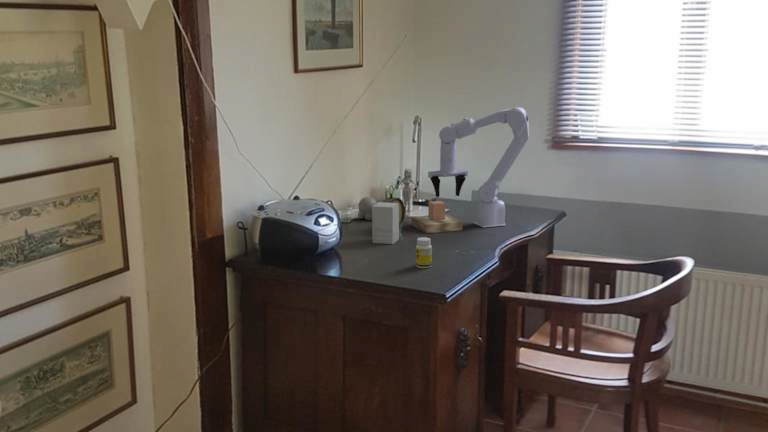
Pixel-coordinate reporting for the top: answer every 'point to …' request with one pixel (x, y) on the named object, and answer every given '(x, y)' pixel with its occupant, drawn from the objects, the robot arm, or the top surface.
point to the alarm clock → (401, 206)
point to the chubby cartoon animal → (366, 208)
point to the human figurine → (407, 189)
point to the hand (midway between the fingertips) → (447, 196)
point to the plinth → (436, 224)
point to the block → (436, 210)
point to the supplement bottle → (423, 253)
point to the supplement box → (385, 222)
